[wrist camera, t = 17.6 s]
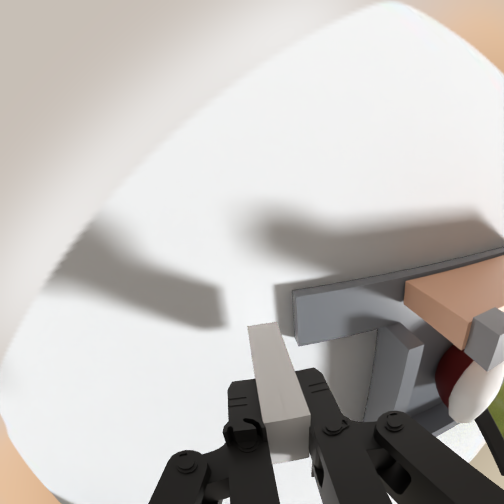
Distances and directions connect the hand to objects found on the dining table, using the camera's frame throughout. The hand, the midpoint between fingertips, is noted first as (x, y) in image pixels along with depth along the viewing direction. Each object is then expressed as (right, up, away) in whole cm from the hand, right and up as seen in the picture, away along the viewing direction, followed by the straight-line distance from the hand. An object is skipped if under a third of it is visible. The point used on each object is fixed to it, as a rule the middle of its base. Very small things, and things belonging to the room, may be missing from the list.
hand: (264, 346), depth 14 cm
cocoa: (+17, -5, +4) cm, 18 cm away
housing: (+13, -4, +5) cm, 15 cm away
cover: (+16, +3, +2) cm, 16 cm away
